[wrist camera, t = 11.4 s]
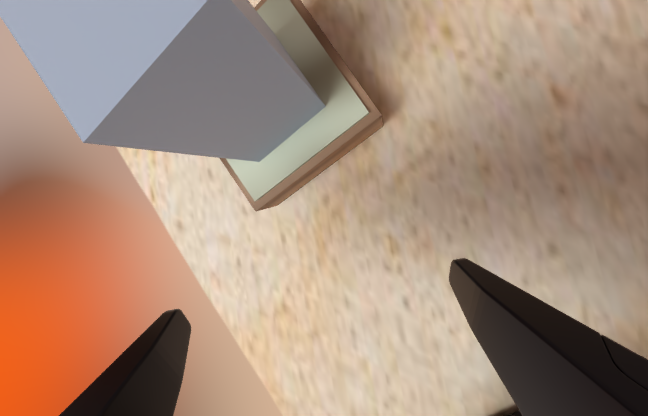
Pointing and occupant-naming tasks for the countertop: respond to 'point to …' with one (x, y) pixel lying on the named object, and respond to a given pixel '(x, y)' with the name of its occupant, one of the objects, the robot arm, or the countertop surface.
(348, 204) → the countertop surface
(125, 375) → the robot arm
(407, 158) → the countertop surface
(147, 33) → the slate brick
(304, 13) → the walnut base block
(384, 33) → the countertop surface
